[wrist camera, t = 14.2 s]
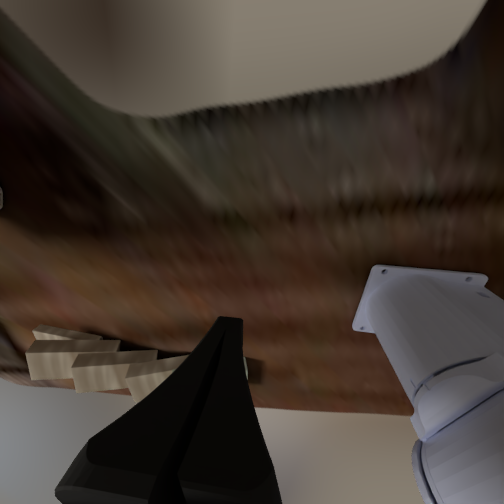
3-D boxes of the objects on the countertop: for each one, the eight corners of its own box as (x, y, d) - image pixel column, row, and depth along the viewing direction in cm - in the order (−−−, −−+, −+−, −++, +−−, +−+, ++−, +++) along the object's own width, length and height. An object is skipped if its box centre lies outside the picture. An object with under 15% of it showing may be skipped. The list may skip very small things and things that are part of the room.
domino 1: (95, 343, 28) (32, 330, 28) (103, 366, 30) (44, 355, 30) (105, 332, 29) (45, 320, 30) (112, 355, 31) (56, 344, 32)
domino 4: (203, 364, 26) (124, 378, 24) (206, 388, 28) (135, 402, 27) (203, 352, 28) (129, 364, 26) (206, 376, 30) (138, 388, 28)
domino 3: (155, 361, 27) (70, 367, 24) (154, 385, 29) (76, 393, 26) (157, 349, 28) (78, 353, 26) (156, 372, 31) (83, 379, 28)
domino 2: (116, 351, 27) (25, 353, 24) (115, 375, 29) (31, 380, 26) (120, 340, 28) (35, 339, 25) (119, 363, 30) (40, 366, 27)
